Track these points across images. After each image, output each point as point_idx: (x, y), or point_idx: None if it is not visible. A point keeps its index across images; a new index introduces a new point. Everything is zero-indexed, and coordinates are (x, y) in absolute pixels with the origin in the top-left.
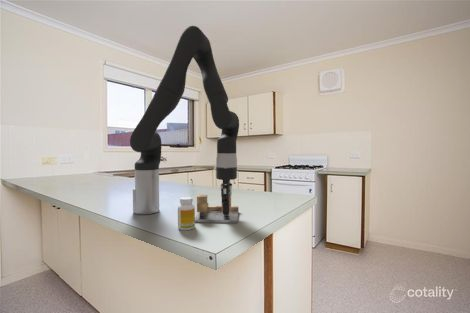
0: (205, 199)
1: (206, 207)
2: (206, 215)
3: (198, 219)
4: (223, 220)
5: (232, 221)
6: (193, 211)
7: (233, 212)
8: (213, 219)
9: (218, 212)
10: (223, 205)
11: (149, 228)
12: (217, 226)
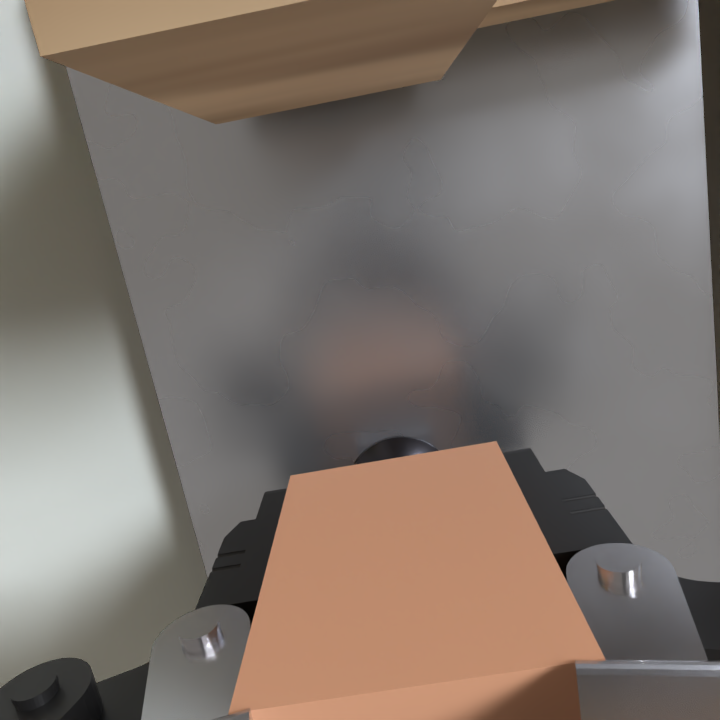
0: (88, 71)
1: (312, 92)
2: (362, 100)
3: None
4: (184, 488)
5: None
6: None
7: (659, 541)
8: (157, 323)
9: (623, 274)
10: (234, 601)
11: None
12: (18, 429)
